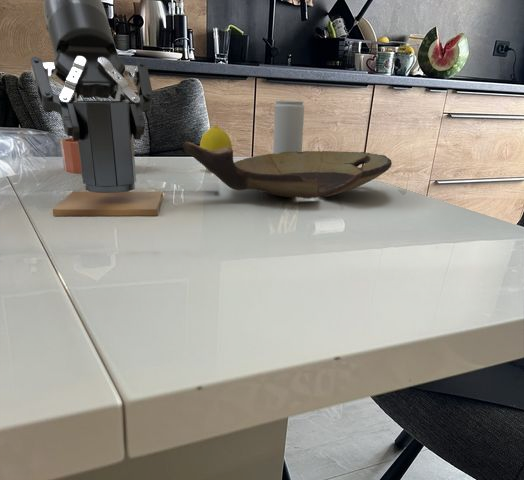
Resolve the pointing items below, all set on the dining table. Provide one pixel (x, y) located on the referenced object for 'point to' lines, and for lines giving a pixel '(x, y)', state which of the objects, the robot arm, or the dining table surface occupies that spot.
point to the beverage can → (288, 126)
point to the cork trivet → (110, 204)
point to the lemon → (215, 139)
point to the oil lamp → (293, 170)
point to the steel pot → (106, 145)
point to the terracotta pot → (71, 156)
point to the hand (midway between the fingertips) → (108, 135)
